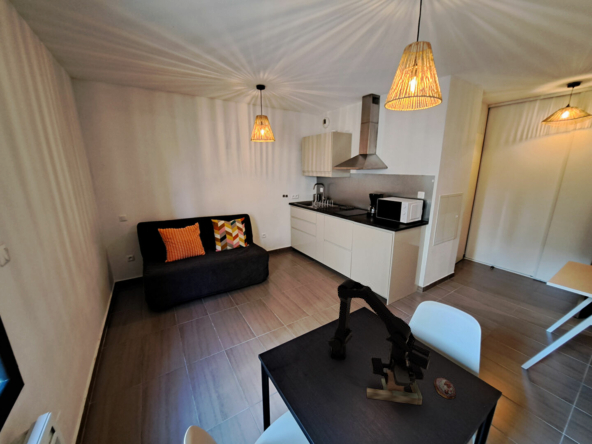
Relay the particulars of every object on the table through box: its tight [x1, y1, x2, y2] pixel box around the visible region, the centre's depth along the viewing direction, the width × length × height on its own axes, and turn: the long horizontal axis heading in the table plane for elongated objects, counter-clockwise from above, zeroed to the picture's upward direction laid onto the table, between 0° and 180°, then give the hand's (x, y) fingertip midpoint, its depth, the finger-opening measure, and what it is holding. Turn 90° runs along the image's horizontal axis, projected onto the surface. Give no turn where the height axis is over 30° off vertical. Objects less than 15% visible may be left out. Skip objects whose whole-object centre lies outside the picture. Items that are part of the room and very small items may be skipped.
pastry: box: [433, 377, 457, 400], centre depth 90 cm, size 8×8×5 cm
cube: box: [386, 371, 405, 392], centre depth 90 cm, size 6×6×6 cm
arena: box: [366, 360, 423, 406], centre depth 94 cm, size 20×17×4 cm
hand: (393, 384), depth 90 cm, fingers closed on cube, 5 cm apart
